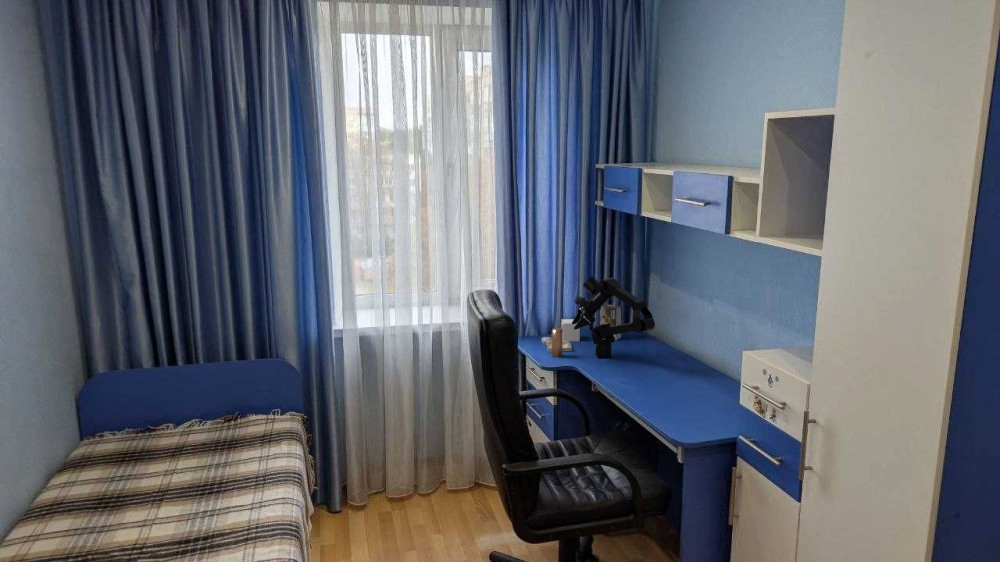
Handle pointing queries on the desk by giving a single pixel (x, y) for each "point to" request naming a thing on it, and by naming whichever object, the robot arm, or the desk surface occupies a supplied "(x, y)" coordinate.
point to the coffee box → (611, 316)
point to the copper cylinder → (557, 342)
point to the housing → (570, 330)
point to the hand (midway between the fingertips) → (573, 326)
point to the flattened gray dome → (546, 339)
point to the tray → (565, 346)
